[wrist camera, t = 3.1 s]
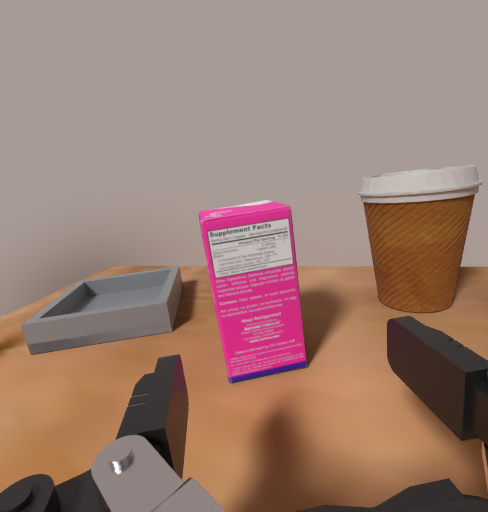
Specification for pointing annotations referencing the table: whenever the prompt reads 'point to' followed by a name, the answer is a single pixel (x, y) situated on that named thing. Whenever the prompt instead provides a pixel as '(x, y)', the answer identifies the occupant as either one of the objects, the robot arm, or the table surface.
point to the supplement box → (255, 288)
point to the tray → (107, 311)
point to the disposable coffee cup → (418, 233)
